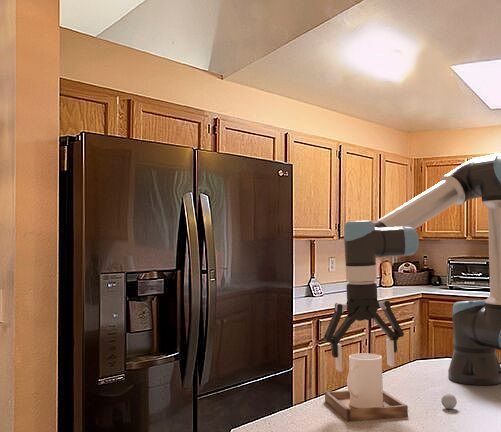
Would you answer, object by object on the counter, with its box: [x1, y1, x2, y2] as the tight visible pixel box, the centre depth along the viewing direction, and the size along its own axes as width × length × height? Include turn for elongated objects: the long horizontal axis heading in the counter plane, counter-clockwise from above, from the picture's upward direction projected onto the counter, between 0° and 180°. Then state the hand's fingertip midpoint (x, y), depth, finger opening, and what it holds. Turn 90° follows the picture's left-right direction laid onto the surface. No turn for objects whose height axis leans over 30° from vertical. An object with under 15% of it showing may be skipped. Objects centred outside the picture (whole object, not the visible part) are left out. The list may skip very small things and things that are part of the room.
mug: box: [346, 352, 384, 409], centre depth 151 cm, size 12×8×12 cm
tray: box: [324, 389, 409, 422], centre depth 151 cm, size 15×17×2 cm
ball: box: [441, 393, 458, 410], centre depth 149 cm, size 4×4×4 cm
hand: (365, 368), depth 151 cm, fingers open, 13 cm apart
